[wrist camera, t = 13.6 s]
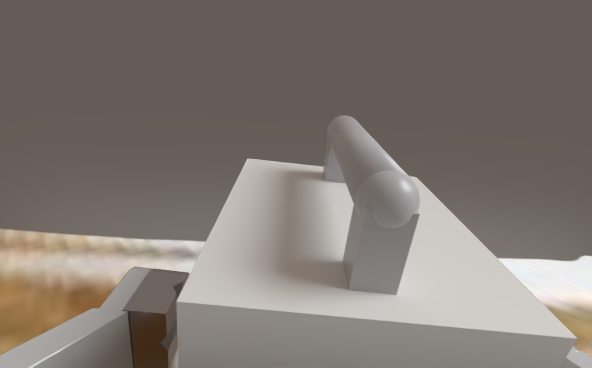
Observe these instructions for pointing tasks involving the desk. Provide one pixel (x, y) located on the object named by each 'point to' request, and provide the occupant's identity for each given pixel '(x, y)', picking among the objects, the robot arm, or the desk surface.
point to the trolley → (354, 275)
